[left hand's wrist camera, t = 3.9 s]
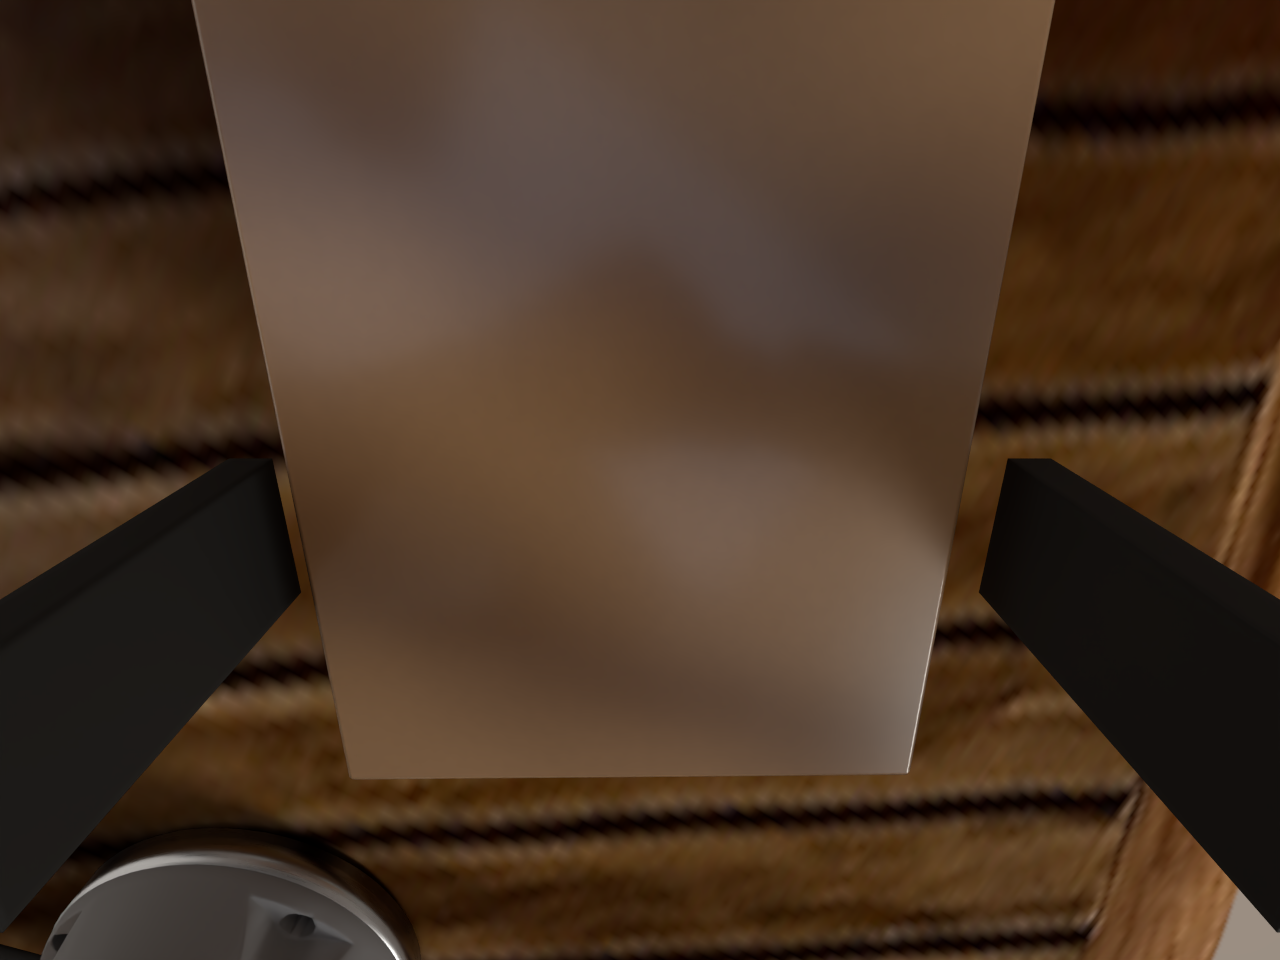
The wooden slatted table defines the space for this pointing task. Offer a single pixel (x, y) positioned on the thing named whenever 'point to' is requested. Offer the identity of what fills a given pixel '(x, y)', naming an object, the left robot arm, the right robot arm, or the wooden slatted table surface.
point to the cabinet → (625, 360)
